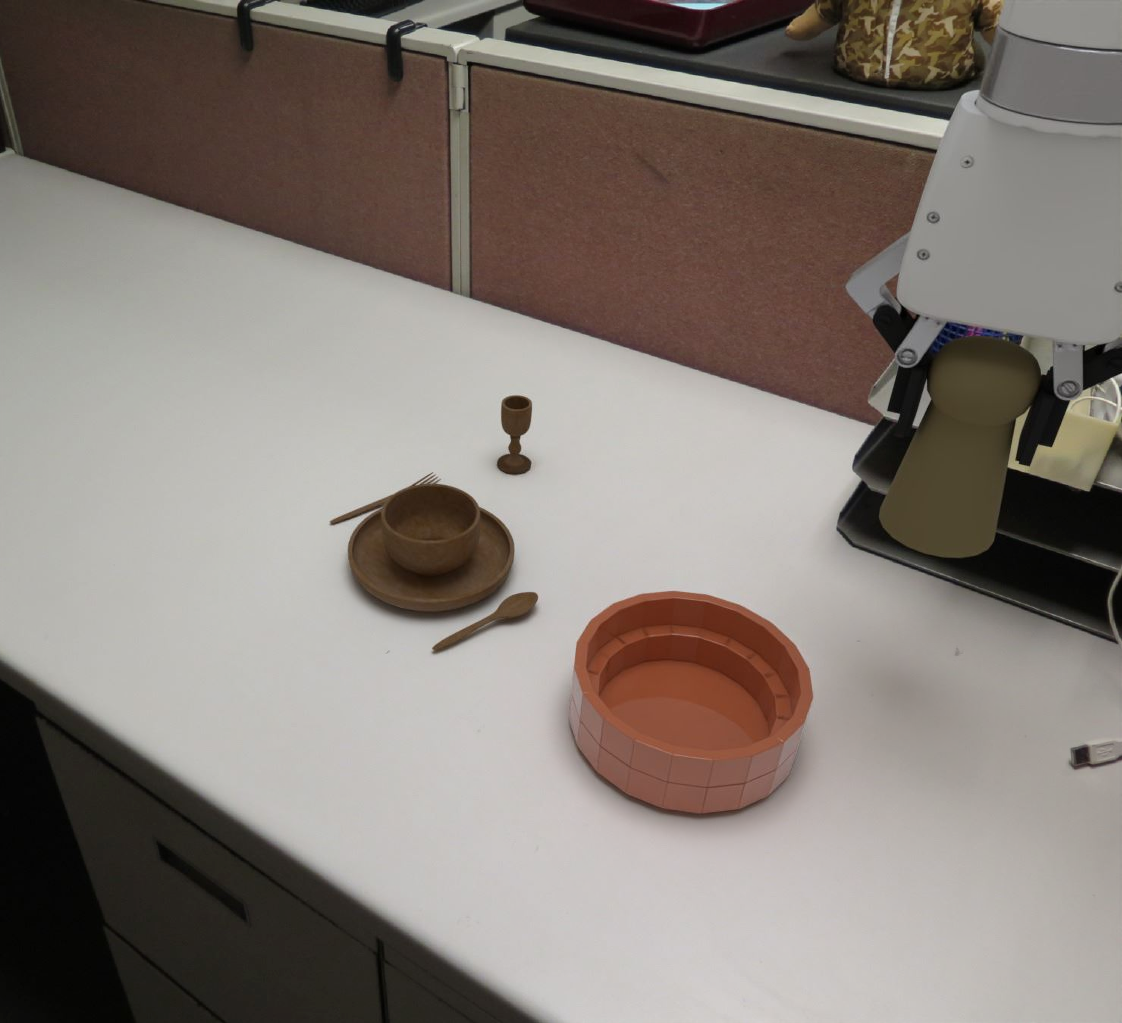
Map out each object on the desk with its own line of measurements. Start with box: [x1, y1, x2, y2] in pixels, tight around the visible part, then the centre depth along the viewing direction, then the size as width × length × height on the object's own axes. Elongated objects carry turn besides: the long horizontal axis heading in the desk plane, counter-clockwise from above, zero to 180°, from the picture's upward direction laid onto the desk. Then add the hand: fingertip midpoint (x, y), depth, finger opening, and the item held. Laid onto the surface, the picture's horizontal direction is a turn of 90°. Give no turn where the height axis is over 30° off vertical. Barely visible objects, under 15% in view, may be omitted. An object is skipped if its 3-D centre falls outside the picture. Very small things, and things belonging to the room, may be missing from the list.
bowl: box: [568, 590, 814, 814], centre depth 62 cm, size 13×13×5 cm
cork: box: [878, 335, 1042, 559], centre depth 55 cm, size 6×6×11 cm
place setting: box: [329, 394, 539, 651], centre depth 76 cm, size 18×20×6 cm
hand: (964, 435), depth 55 cm, fingers closed on cork, 5 cm apart
